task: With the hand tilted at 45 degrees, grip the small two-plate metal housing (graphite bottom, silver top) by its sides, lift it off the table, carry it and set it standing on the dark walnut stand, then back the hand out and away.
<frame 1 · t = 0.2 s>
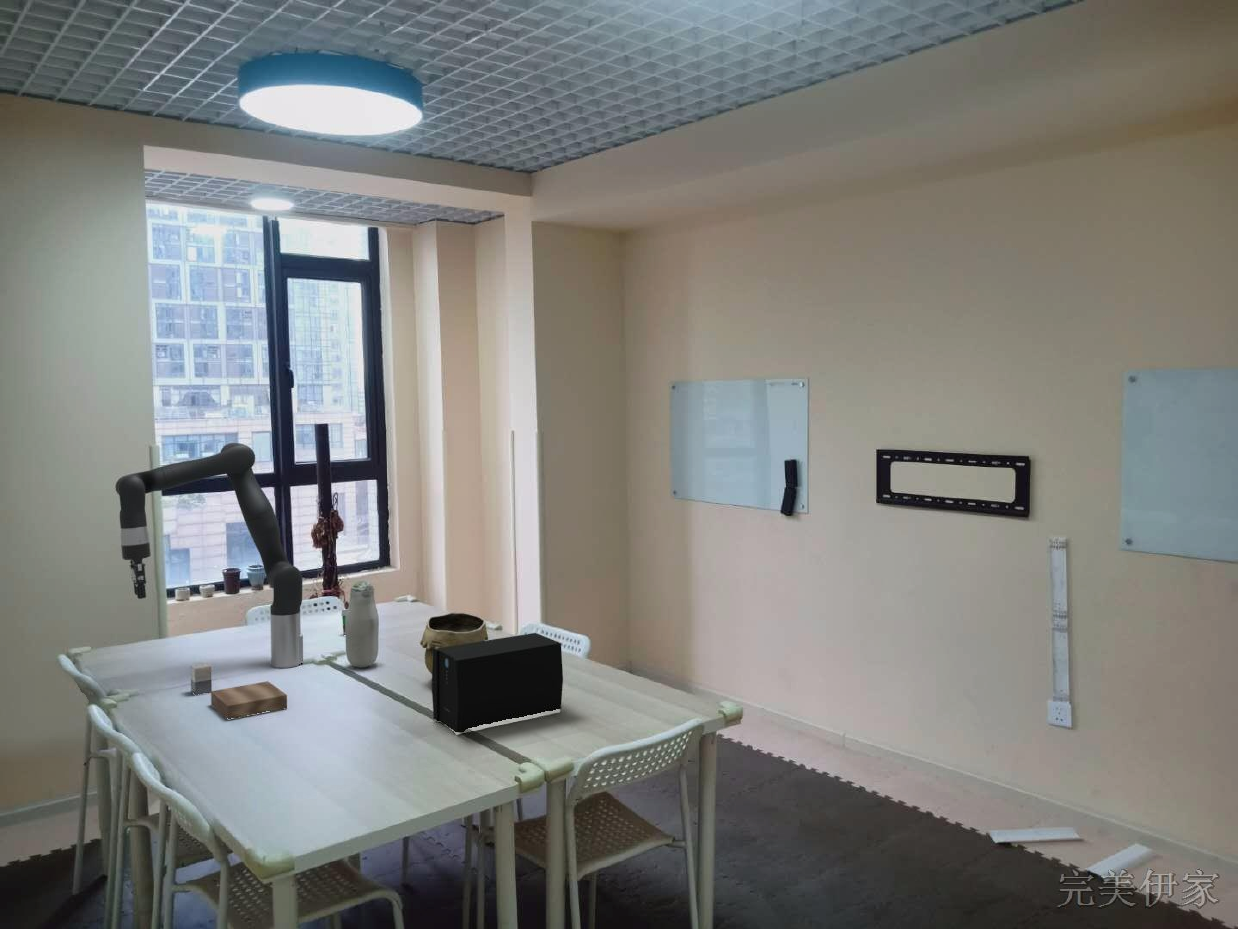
hand: (140, 596, 283), 28 cm above the table, tool pointing down, fingers open, 8 cm apart
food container: (357, 634, 353), on the table
grey bottle: (362, 667, 310), on the table
clay pot: (455, 683, 294), on the table
housing: (201, 692, 282), on the table
uninterruptible power supply: (500, 717, 264), on the table
walnut stand: (249, 707, 269), on the table
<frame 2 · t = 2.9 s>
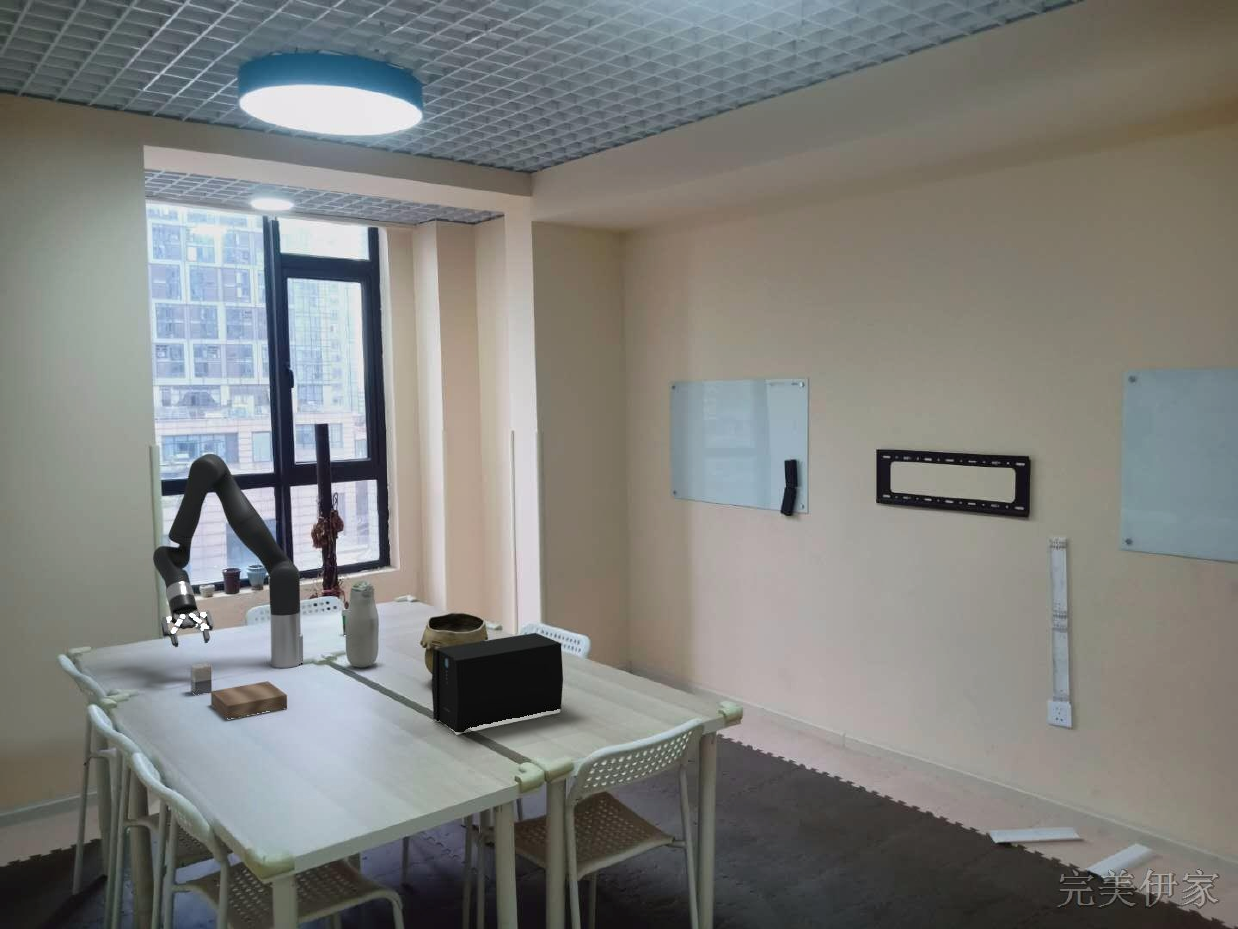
hand: (192, 643, 288), 13 cm above the table, tool tilted 45°, fingers open, 8 cm apart
nothing on the table moved.
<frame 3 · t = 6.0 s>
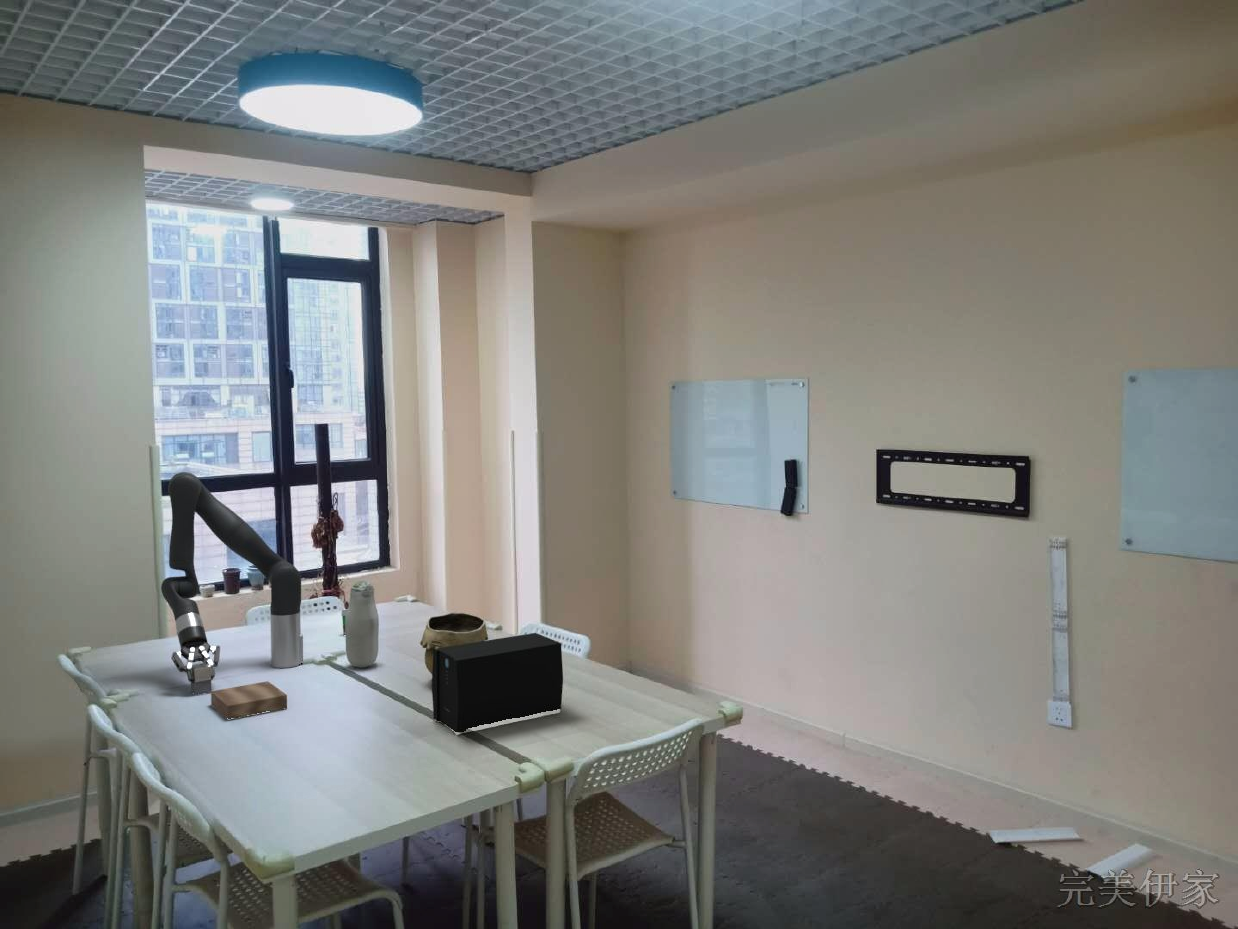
hand: (202, 680, 280), 4 cm above the table, tool tilted 45°, fingers closed on housing, 4 cm apart
housing: (201, 692, 282), on the table, touching gripper
everything else where it was.
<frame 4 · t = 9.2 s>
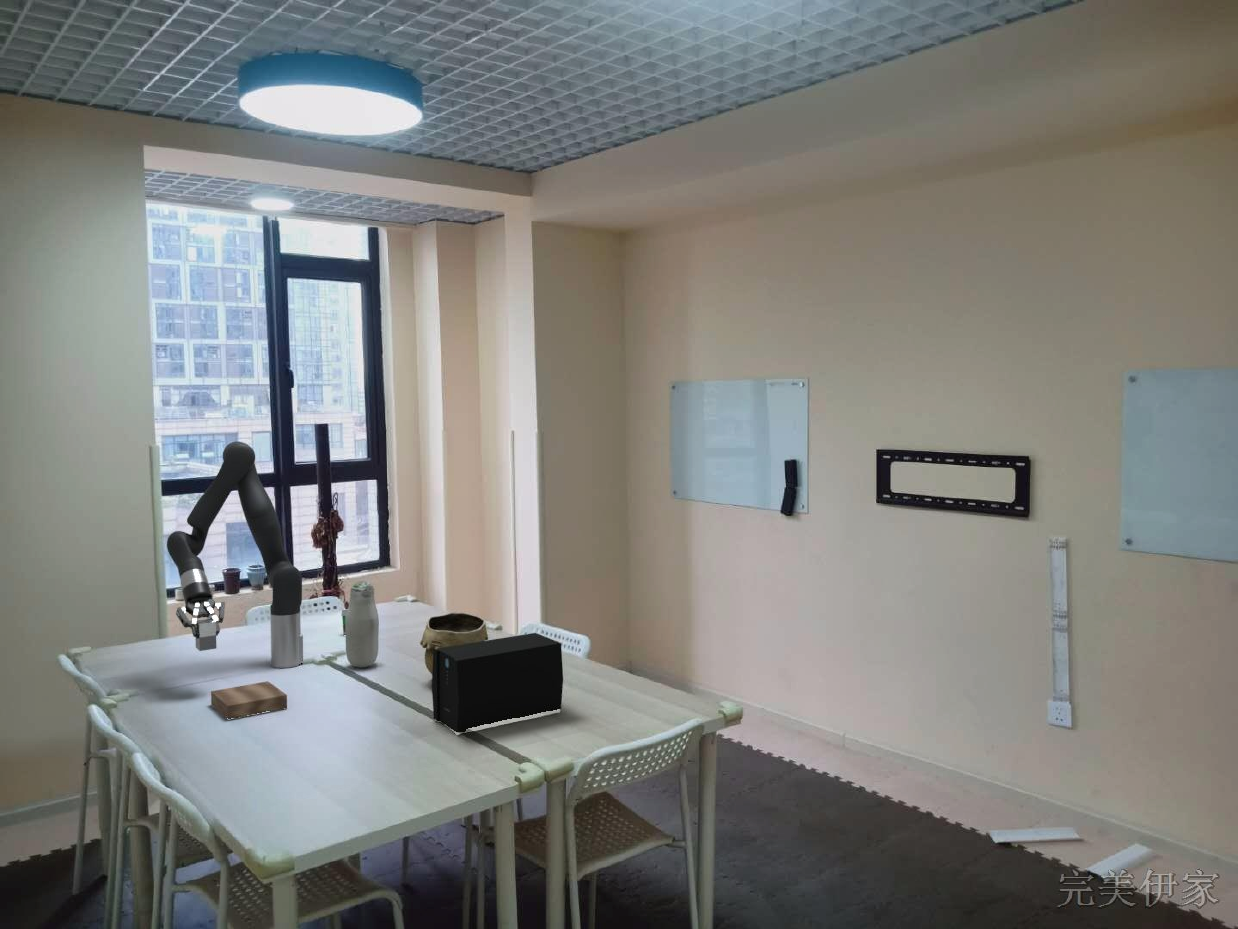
hand: (207, 635, 278), 18 cm above the table, tool tilted 45°, fingers closed on housing, 4 cm apart
housing: (206, 648, 279), point 14 cm above the table, touching gripper
everything else where it was.
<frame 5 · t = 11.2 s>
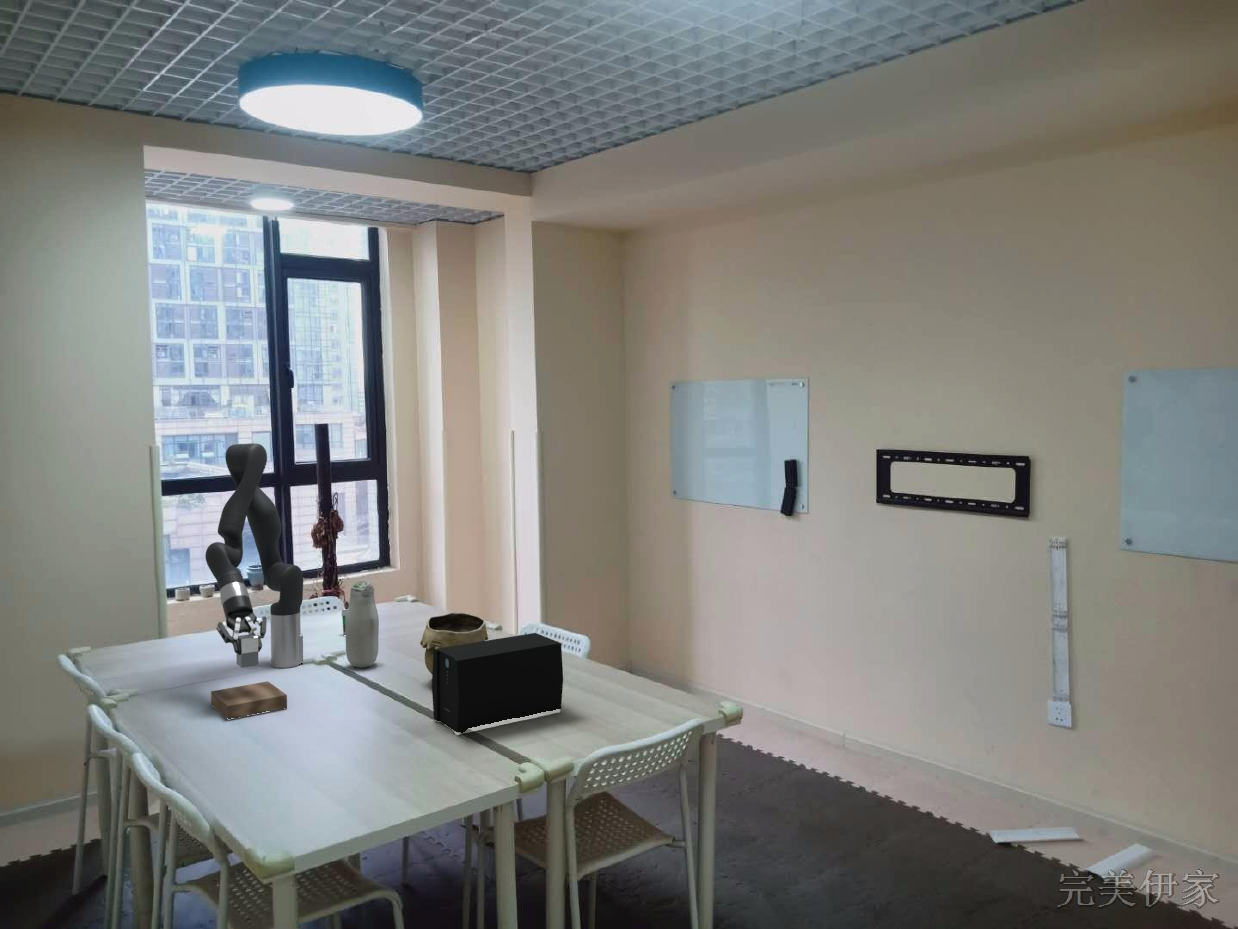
hand: (249, 651, 266), 16 cm above the table, tool tilted 45°, fingers closed on housing, 4 cm apart
housing: (247, 664, 268), point 12 cm above the table, touching gripper
everything else where it was.
when the fingers open (10 cm above the table, at t = 12.7 s): housing drops 1 cm, resting on walnut stand.
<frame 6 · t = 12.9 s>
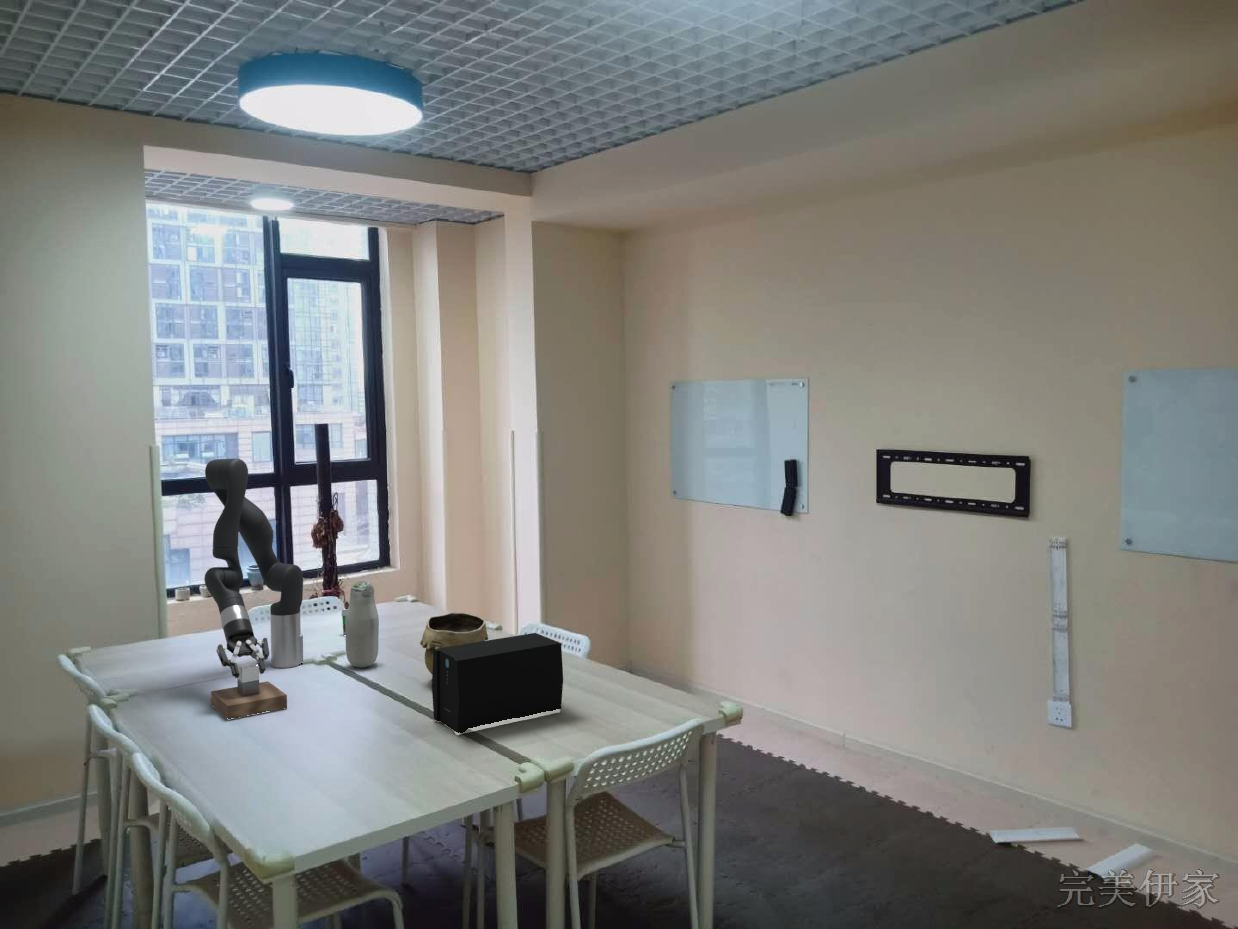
hand: (250, 674, 267), 10 cm above the table, tool tilted 45°, fingers open, 6 cm apart
housing: (248, 693, 269), point 4 cm above the table, touching walnut stand
everything else where it was.
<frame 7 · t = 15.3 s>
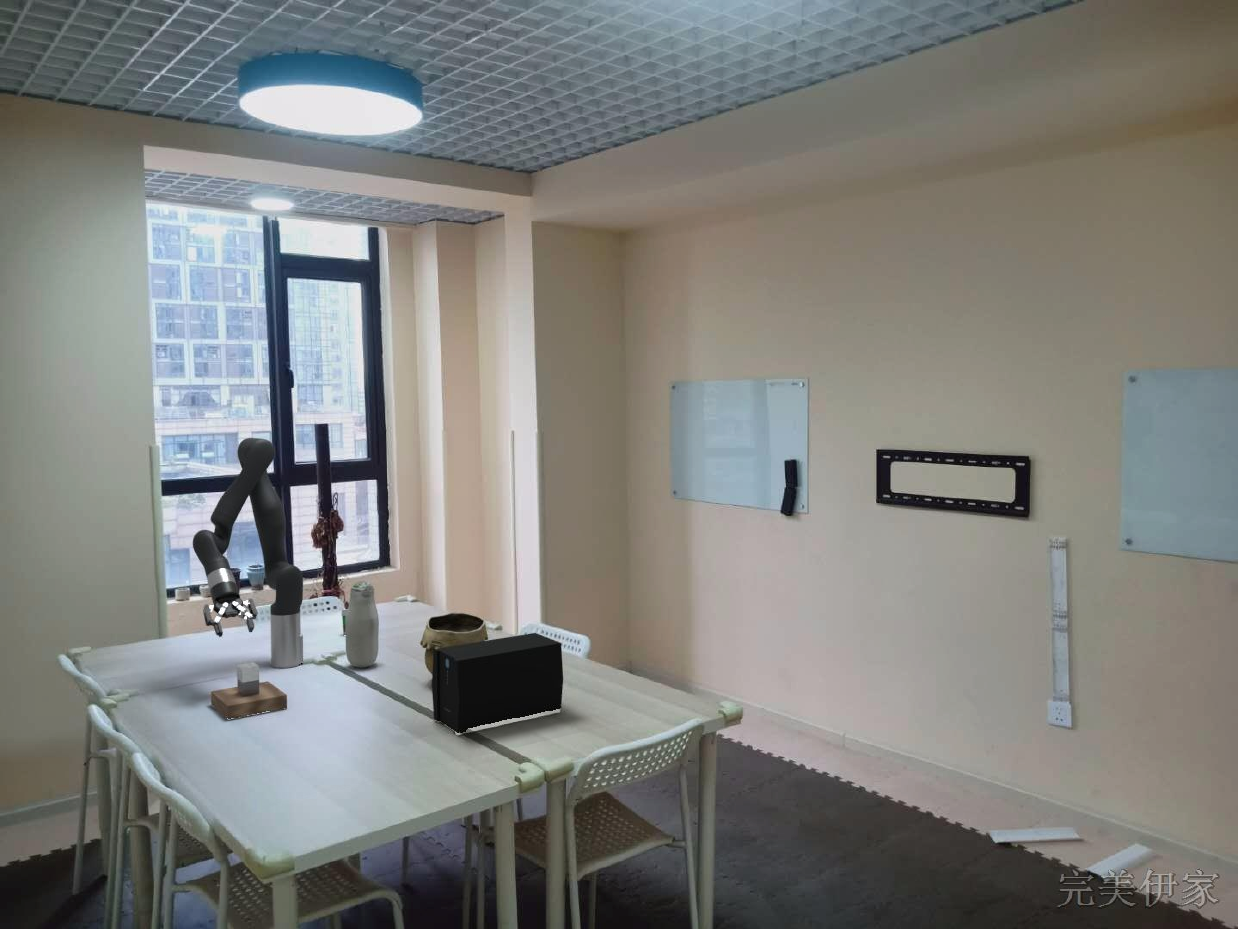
hand: (236, 633, 275), 19 cm above the table, tool tilted 45°, fingers open, 8 cm apart
nothing on the table moved.
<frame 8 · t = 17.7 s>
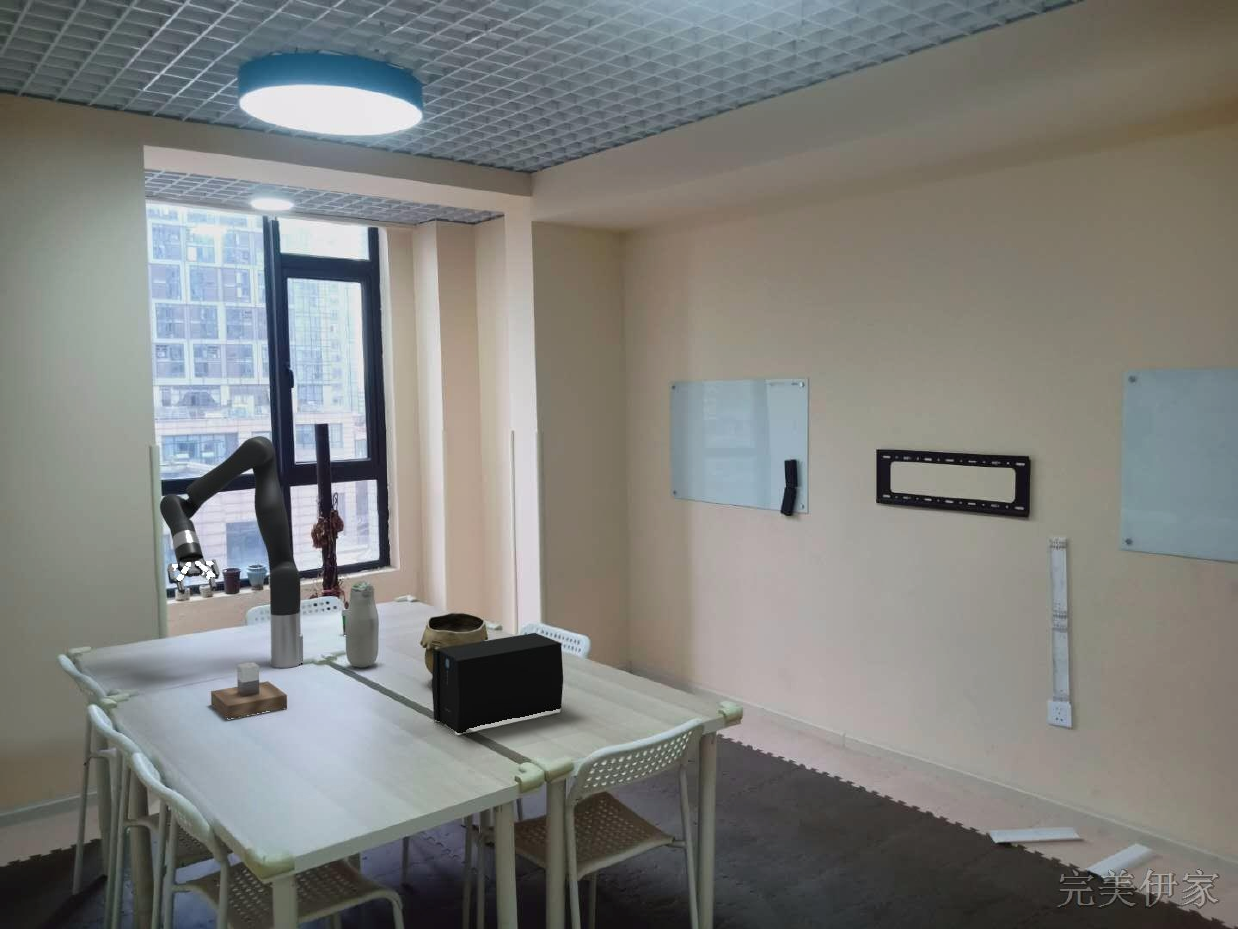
hand: (198, 591, 288), 29 cm above the table, tool tilted 45°, fingers open, 8 cm apart
nothing on the table moved.
at the end: housing inside the target area on the walnut stand (0.1 cm from its centre), point 4.0 cm above the walnut stand's base; housing tilted 0°; the gripper is holding nothing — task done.
